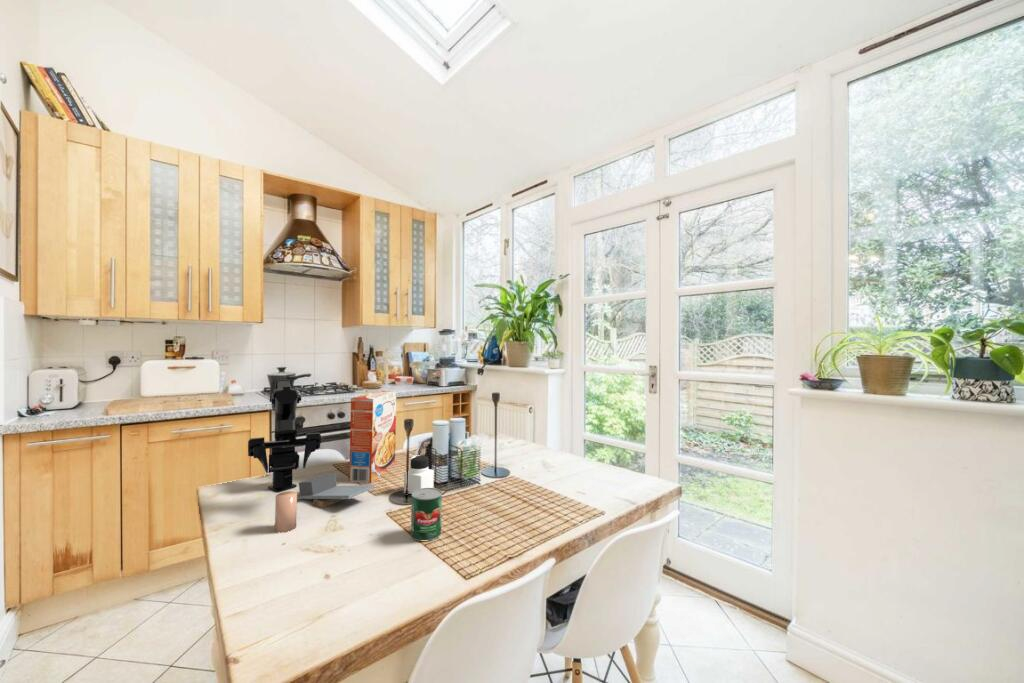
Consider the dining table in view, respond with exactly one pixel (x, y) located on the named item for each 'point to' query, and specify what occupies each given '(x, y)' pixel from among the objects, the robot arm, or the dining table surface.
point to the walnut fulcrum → (324, 502)
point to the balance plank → (329, 488)
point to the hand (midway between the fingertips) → (285, 469)
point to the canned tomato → (426, 514)
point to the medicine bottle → (419, 474)
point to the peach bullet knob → (285, 511)
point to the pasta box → (372, 435)
